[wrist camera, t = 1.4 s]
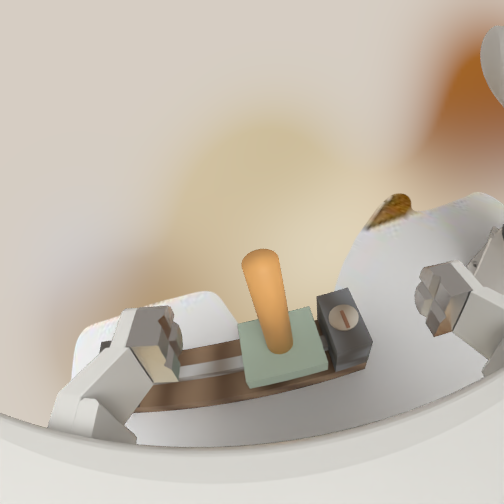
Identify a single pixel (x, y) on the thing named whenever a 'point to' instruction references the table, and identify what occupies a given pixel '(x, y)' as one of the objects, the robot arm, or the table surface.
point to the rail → (232, 369)
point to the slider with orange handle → (276, 328)
